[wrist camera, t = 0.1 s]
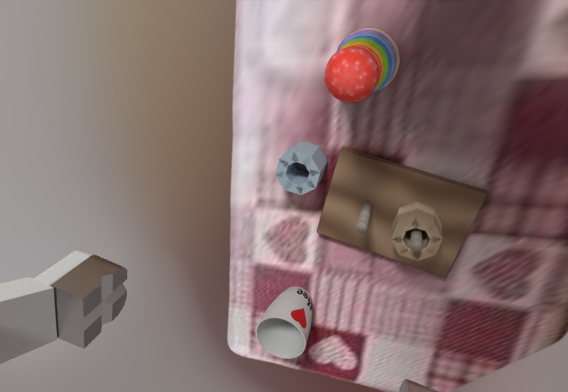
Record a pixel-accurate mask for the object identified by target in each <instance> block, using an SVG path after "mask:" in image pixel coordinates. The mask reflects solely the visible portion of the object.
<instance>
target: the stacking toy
mask: <svg viewBox="0 0 568 392" xmlns="http://www.w3.org/2000/svg"><path fill="white" fill-rule="evenodd" d="M399 65H400V53H399V49H398V46H397V44H396V42H395V41H394V39H393V38H392V37H391V36H390V35H389V34H387V33H386V32H384V31H382V30H380V29H376V28H363V29H359V30H357V31H355V32H353V33H351V34H350V35H349V36H348V37H346V38H345V40H344V41H343V42H342V43H341V44H340V46H339V48H338V50H337V52H336V53H335V54H334V55H333V56H332V57H331V58H330V60H329V62H328V64H327V66H326V69H325V82H326V85H327V88H328V90H329V91H330V93H331V94H332V95H333V96H334V97H335V98H337V99H339V100H340V101H343V102H348V103H354V102H359V101H362V100H364V99H365V98H367V97H368V96H370V95H371V94H372V93H375V92H377V91H379V90H382V89H383V88H385V87H386V86H387V85H389V84H390V83H391V81H392V80H393V79H394V77H395V76H396V74H397V72H398V69H399Z"/></svg>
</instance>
